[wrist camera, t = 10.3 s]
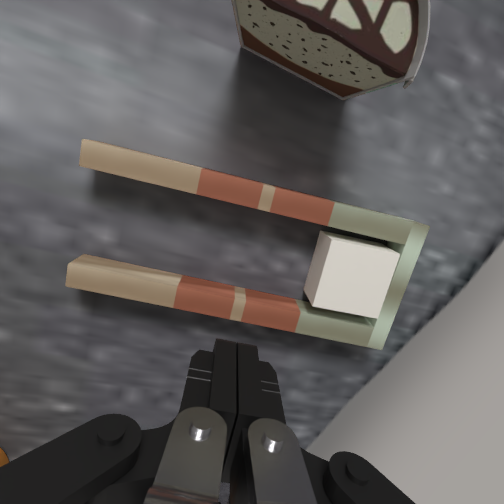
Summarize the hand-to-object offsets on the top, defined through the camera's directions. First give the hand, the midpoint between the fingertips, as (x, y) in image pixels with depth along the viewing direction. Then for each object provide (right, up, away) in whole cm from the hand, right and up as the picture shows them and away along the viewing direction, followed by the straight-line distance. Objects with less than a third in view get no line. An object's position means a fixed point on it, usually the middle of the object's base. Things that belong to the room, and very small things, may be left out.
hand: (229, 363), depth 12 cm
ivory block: (+9, +3, +20) cm, 22 cm away
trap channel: (0, +4, +19) cm, 19 cm away
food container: (+5, +21, +15) cm, 26 cm away
